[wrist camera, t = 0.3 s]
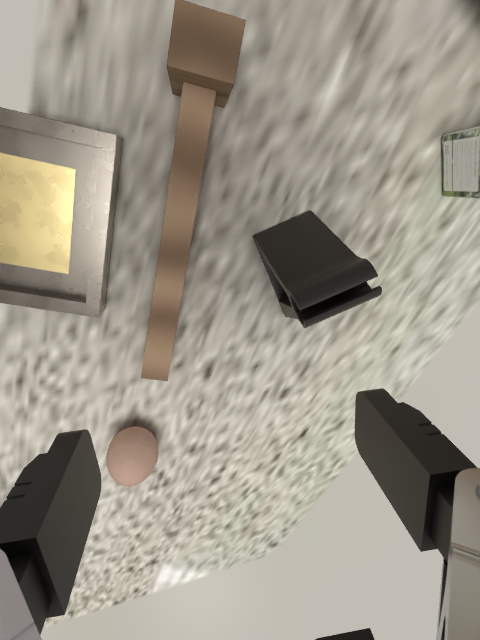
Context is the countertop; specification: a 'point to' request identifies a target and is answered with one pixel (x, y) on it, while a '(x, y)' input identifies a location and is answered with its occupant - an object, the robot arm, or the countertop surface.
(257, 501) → the countertop surface
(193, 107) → the door-edge rail
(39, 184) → the silver shallow tray
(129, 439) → the egg
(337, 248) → the phone stand
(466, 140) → the syrup box
